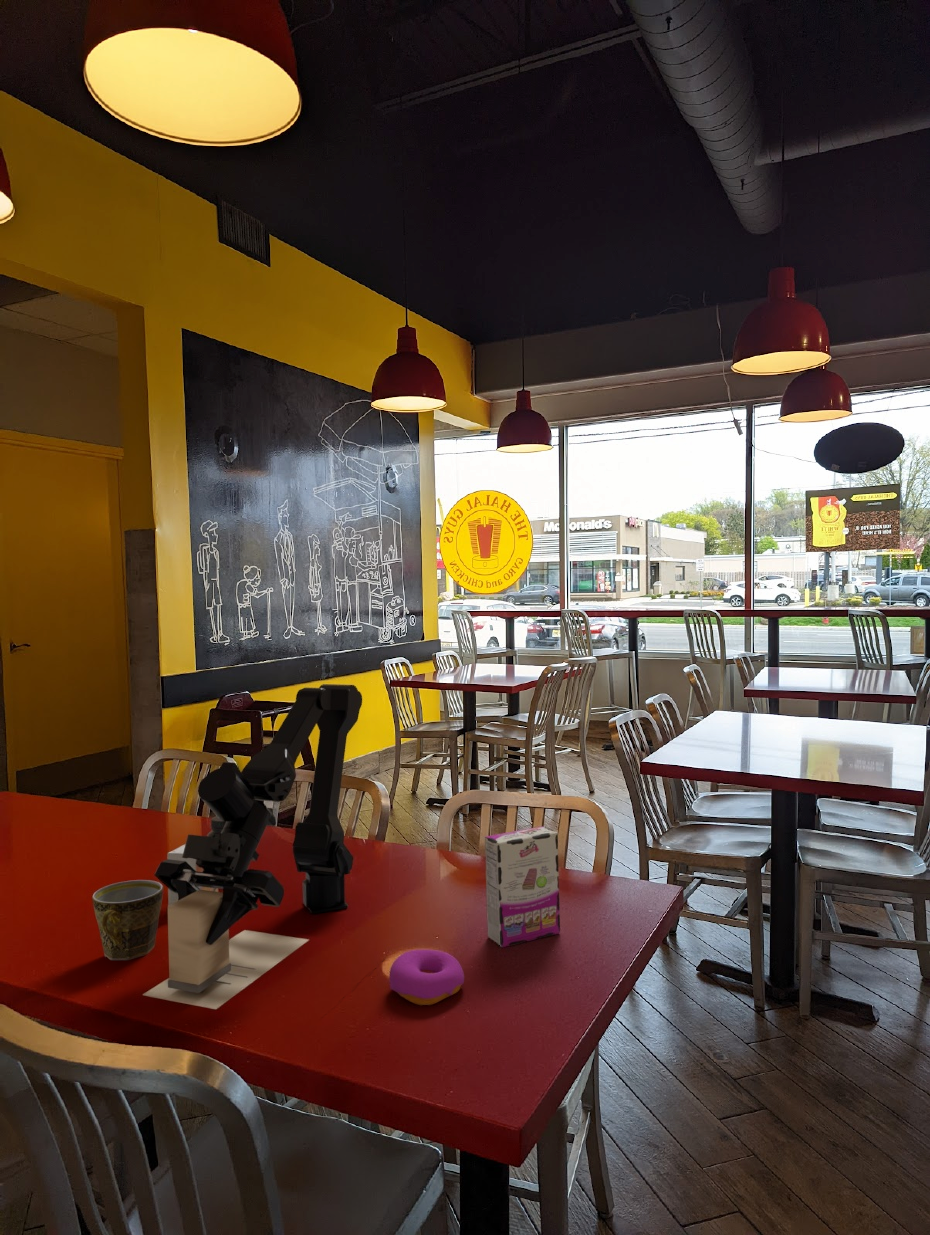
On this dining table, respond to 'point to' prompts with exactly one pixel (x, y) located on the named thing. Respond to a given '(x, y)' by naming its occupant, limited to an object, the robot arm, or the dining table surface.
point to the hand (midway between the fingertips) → (192, 941)
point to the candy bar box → (522, 885)
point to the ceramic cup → (128, 917)
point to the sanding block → (196, 942)
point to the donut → (426, 976)
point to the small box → (178, 855)
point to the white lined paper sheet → (236, 969)
